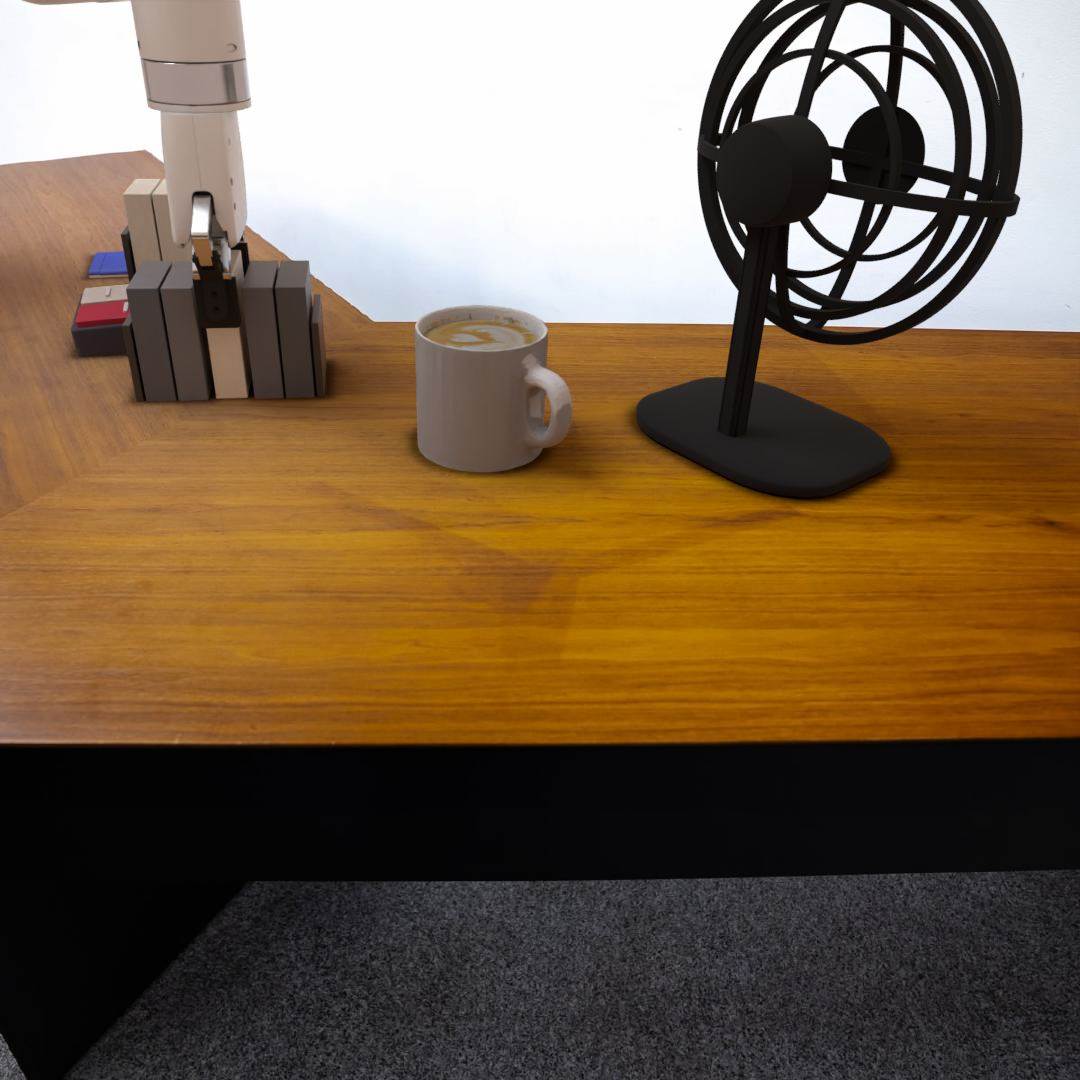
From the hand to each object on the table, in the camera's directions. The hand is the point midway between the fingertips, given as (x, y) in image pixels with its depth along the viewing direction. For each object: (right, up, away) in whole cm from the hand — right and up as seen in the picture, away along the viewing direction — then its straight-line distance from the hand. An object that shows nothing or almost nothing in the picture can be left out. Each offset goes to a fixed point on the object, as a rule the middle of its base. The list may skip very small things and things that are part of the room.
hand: (227, 306), depth 83 cm
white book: (0, -6, +4) cm, 7 cm away
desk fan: (+45, -12, -1) cm, 47 cm away
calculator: (-10, 0, +14) cm, 17 cm away
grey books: (0, -6, +4) cm, 7 cm away
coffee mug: (+23, -13, -5) cm, 27 cm away
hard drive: (-19, +11, +31) cm, 38 cm away
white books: (-13, +8, +25) cm, 29 cm away
